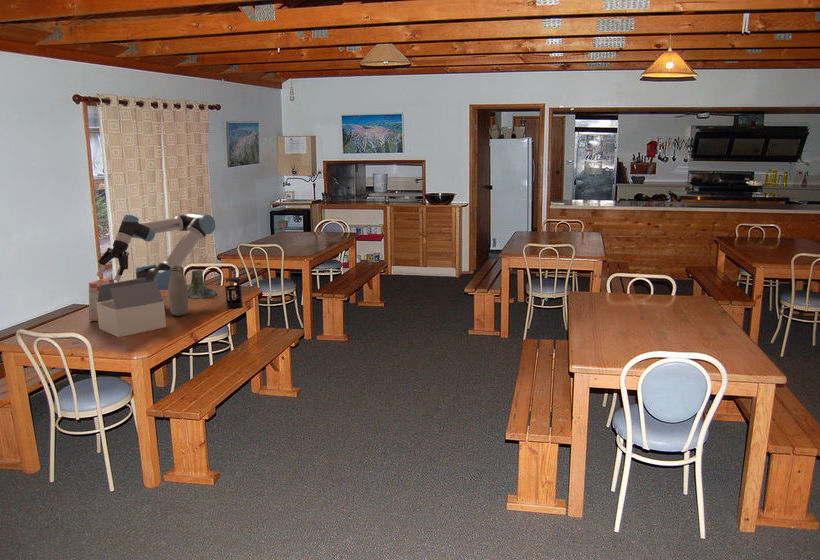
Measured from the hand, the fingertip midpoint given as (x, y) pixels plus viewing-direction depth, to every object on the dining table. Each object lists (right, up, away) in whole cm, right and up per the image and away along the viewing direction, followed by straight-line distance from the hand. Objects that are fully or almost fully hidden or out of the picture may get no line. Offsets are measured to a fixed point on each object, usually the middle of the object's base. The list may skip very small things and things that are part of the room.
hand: (107, 278), depth 371 cm
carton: (+19, -26, -14) cm, 35 cm away
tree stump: (+32, -10, +58) cm, 68 cm away
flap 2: (+25, -8, -23) cm, 35 cm away
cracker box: (-5, -22, +5) cm, 23 cm away
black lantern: (+62, -17, +28) cm, 69 cm away
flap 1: (+13, -6, -12) cm, 19 cm away
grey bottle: (+36, -21, +10) cm, 42 cm away
